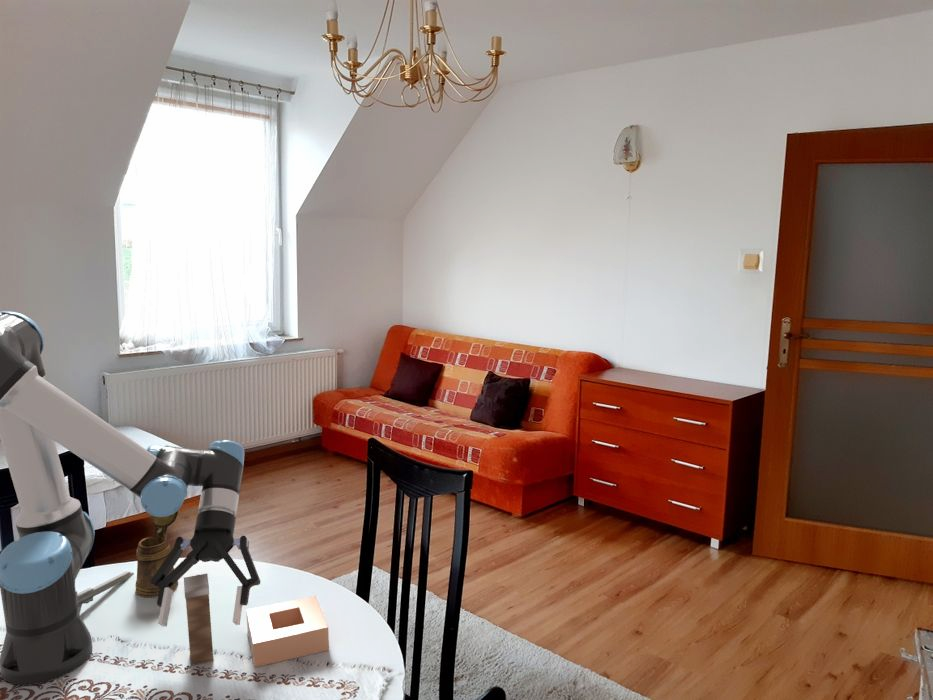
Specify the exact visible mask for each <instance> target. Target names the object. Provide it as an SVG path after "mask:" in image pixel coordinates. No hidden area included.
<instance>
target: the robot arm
mask: <svg viewBox="0 0 933 700" xmlns="http://www.w3.org/2000/svg"><path fill="white" fill-rule="evenodd" d="M44 343H45V341H44V335H43V331H42V330H41V328H40V327H39V326H38V324H37V323H36V321H34V320H33V319H31V318H30V317H28V316H27V315H25V314H23V313H20V312H16V311H11V310H10V311H9V310H4V311H0V443H1V447H2V450H3V452H4V456H5V459H6V463H7V466H8V469H9V473H10V478H11V480H12V484H13V487H14V490H15V491H14V492H15V493H16V497H17V501H18V503H19V508H20V510H21V511H20V513H19V514H18V515H17V517H16V519H15V521H14V524H15V527H16V531H17V533H18V534H17V535H18V537H19V539H18V540H14V541H12V542H10V543H9V544H7V545H6V546H5V547H4V548H3V549H2V551H1V552H0V596H1V604H2V608H3V609H2V610H3V615H4V616H3V617H4V623H5V631H6V632H5V637H4V640H3V644H2V648H1V652H0V676H1V678H2V679H3V680H4V679H5V680H6V682H7V681H8V682H7V683H9V682H11V683H10V684H12V683H13V684H12V685H17V684H20V685H19V686H30V685H29V684H32V685H39V684H43V683H47V682H50V681H55V680H57V679H59V678H62V677H63V676H66V675H68V674H69V673H71V672H73V671H75V670H76V669H77V668H80V667H81V666H82V665H83V664H85V662H87V660H88V659H89V658H90V656H91V654H92V652H93V639H92V634H91V633H90V631H89V629H88V627H87V626H86V624H85V622H84V621H83V619H82V617H81V615H79V613H78V608H77V599H76V590H77V589H76V578H77V577H78V575H79V573H80V571H81V569H82V567H83V565H84V563H85V561H86V559H87V557H88V556H89V554H90V552H91V551H92V547H93V545H94V540H95V535H96V534H95V533H96V532H95V525H94V522H93V520H92V518H91V517H90V515H89V514H88V513H87V512H86V511H83V509H82V504H81V502H80V500H79V499H77V498H74V497H71V496H70V492H69V489H68V486H67V485H68V484H67V482H66V477H65V475H64V471H63V466H62V464H61V460H60V457H59V453H58V449H57V445H56V443H57V444H59V445H60V446H62V447H63V448H65V449H67V450H68V451H69V452H70V453H72V454H74V455H76V456H77V457H78V458H80V459H81V460H83V461H84V462H86V463H87V464H89V465H90V466H92V467H94V468H95V469H97V470H98V471H100V472H101V473H102V474H104V475H106V476H108V478H110V479H112V480H113V481H115V482H116V483H118V484H119V485H121V486H122V487H124V488H126V489H127V490H128V491H130V492H131V493H133V494H134V495H136V496H137V497H139V498H140V503H141V506H142V509H143V510H144V512H146V514H149V516H155V517H167V516H170V515H172V514H174V513H175V512H177V511H178V512H179V511H180V509H181V508H182V506H183V505H184V504H183V503H184V502H185V499H186V498H187V495H188V486H190V487H191V486H193V487H201V492H200V499H199V505H198V508H197V511H198V514H197V515H196V520H195V525H194V532H193V536H192V538H191V539H189V538H183V537H182V536H177V537H176V539H175V542H174V546H173V548H171V551H170V553H169V555H168V556H167V558H166V559H165V561H164V562H163V564H162V565H161V566H160V568H159V569H158V571H157V572H156V574H155V575H154V576H153V578H152V579H151V584H153V585H154V586H155V587H158V588H159V595H158V597H157V599H156V606H157V607H159V608H160V611H159V615H158V616H159V617H158V621H157V624H158V625H159V626H161V627H167V626H168V622H169V621H168V620H169V616H170V611H171V610H170V609H171V605H172V604H171V603H172V599H173V595H174V594H173V593H174V590H173V591H172V590H171V589H170V588H171V587H172V586H173V585H174V584H175V583H176V582H177V581H178V582H179V581H180V579H181V578H182V577H184V575H185V574H186V573H187V572H188V571H189V570H190V569H191V568H192V567H194V565H196V564H198V563H199V562H200V561H201V562H202V563H208V562H215V563H216V562H217V563H218V562H220V561H221V560H223V561H225V563H226V564H227V565H228V567H229V568H230V570H231V571H232V572H233V574H234V575H235V576H236V578H237V580H238V581H239V582H240V583H241V585H237V587H236V594H235V603H234V607H233V608H234V609H233V617H232V623H234V624H235V626H238V625H241V618H242V611H243V606H247V605H248V604H249V598H250V592H251V591H250V590H251V588H252V587H254V586H260V585H261V579H260V576H259V573H258V571H257V569H256V565H255V563H254V561H253V558H252V555H251V552H250V549H249V545H250V541H249V540H248V538H247V536H246V535H242V536H240V537H237V538H234V533H235V526H236V520H237V519H236V517H235V516H236V515H237V513H238V506H239V498H240V491H241V486H242V478H243V472H244V466H245V463H244V462H245V454H246V453H245V448H244V447H243V446H242V445H241V444H240V443H238V442H236V441H233V440H229V439H223V440H219V439H218V440H215V441H213V442H212V443H210V445H209V446H208V448H207V449H195V448H187V447H178V446H171V445H167V444H165V445H161V444H160V445H157V444H151V445H149V446H147V448H144V447H143V446H142V445H140V444H138V443H137V442H136V441H134V440H133V439H132V438H130V437H128V436H127V435H126V434H124V433H123V432H121V431H119V430H118V429H116V427H114V426H113V425H111V424H110V423H109V422H107V421H105V420H104V419H103V418H101V417H100V416H98V415H97V414H96V413H94V412H92V411H91V410H90V409H88V408H87V407H85V406H84V405H82V404H81V403H79V401H77V400H76V399H73V398H72V397H71V396H70V395H68V394H66V393H65V392H64V391H63V390H61V389H59V388H57V386H56V385H53V384H52V383H51V382H49V381H47V380H46V379H45V378H46V376H47V375H46V370H45V367H44V363H43V360H42V356H41V355H42V353H43V350H44ZM235 546H236V547H237V549H238V550H240V552H241V555H242V557H243V560H244V562H245V565H246V568H247V571H248V573H249V576H250V578H246V576H245V574H244V573H243V571H242V570H241V569H240V567H239V566H238V565H237V563H236V562H235V561H234V559H233V558H232V557H231V555H230V553H229V552H230V551H231V550H232V549H233V548H234V547H235ZM188 547H191V549H192V550H191V551H190V552H189V553H188V554H187V555H186V557H184V559H183V560H182V561H181V562H180V563H179V564H178V565H177V566H176V567H175V565H176V563H177V562H178V560H179V559H180V558H181V556H182V555H183V553H184V551H187V549H188ZM173 567H175V568H174V570H173V571H172V572H171V573H170V574H169V572H170V571H171V569H172V568H173ZM168 574H169V575H168ZM167 575H168V576H167ZM5 680H4V681H5ZM42 682H43V683H42ZM38 683H39V684H38ZM26 684H28V685H26Z"/></svg>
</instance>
